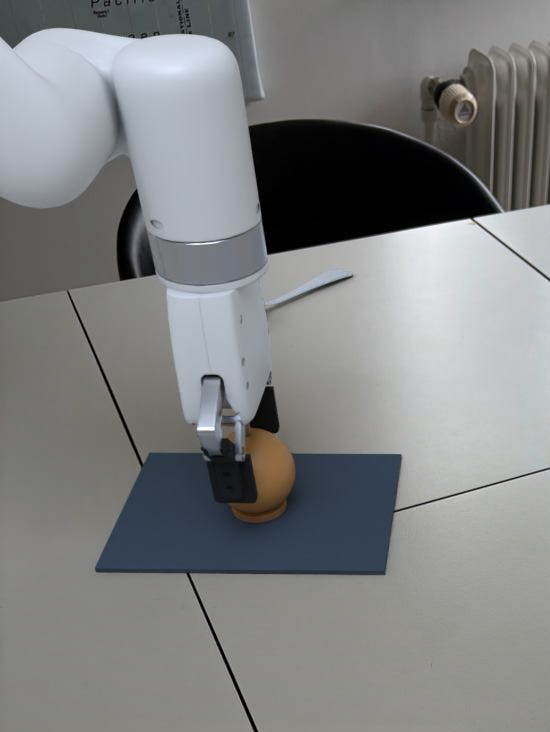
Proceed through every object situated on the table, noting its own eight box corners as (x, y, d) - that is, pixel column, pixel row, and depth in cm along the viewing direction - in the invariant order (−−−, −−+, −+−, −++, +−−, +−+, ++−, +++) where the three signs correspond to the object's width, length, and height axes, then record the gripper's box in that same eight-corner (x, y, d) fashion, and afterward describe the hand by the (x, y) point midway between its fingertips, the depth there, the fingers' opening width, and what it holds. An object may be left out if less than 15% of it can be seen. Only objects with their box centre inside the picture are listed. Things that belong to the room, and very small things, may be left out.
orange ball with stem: (210, 531, 82) (190, 442, 76) (227, 483, 87) (209, 397, 81) (293, 532, 82) (279, 443, 76) (306, 484, 87) (293, 397, 81)
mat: (95, 572, 79) (94, 568, 79) (150, 456, 91) (149, 452, 90) (384, 574, 78) (384, 570, 78) (401, 457, 90) (401, 453, 90)
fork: (357, 296, 119) (357, 272, 117) (216, 346, 105) (213, 319, 104) (339, 290, 120) (339, 266, 118) (197, 338, 107) (194, 311, 105)
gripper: (183, 201, 76) (224, 407, 88) (117, 305, 64) (175, 530, 75) (285, 201, 76) (312, 408, 88) (239, 306, 63) (278, 532, 75)
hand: (249, 464), depth 81 cm, fingers open, 9 cm apart
